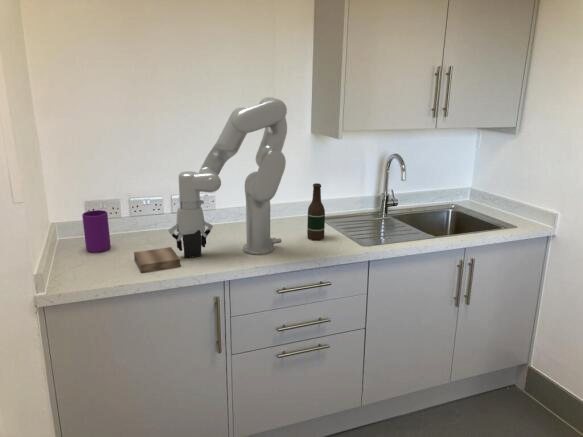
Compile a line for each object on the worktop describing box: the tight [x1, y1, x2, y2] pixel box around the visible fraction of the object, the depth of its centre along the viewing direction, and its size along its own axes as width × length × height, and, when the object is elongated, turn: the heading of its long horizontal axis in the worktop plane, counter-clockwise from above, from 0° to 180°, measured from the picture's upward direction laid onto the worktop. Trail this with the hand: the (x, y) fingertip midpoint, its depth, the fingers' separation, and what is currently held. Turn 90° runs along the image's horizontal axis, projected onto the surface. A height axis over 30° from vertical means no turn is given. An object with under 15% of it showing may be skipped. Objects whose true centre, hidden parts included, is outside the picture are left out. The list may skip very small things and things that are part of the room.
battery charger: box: [182, 230, 203, 259], centre depth 189 cm, size 7×4×11 cm, turn 109°
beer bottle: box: [306, 182, 326, 242], centre depth 210 cm, size 8×8×24 cm
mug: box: [81, 209, 111, 253], centre depth 198 cm, size 9×16×15 cm, turn 26°
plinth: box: [133, 246, 181, 274], centre depth 183 cm, size 14×14×3 cm
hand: (191, 247), depth 190 cm, fingers open, 8 cm apart
